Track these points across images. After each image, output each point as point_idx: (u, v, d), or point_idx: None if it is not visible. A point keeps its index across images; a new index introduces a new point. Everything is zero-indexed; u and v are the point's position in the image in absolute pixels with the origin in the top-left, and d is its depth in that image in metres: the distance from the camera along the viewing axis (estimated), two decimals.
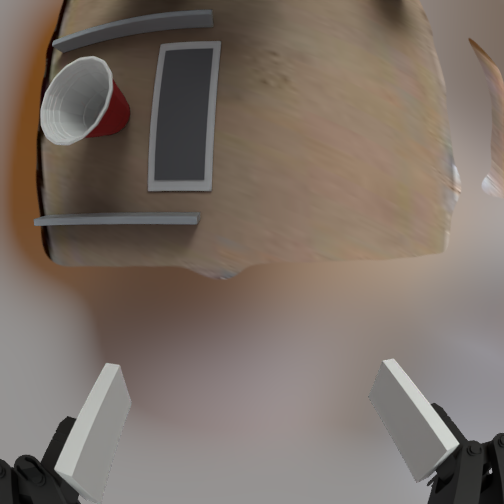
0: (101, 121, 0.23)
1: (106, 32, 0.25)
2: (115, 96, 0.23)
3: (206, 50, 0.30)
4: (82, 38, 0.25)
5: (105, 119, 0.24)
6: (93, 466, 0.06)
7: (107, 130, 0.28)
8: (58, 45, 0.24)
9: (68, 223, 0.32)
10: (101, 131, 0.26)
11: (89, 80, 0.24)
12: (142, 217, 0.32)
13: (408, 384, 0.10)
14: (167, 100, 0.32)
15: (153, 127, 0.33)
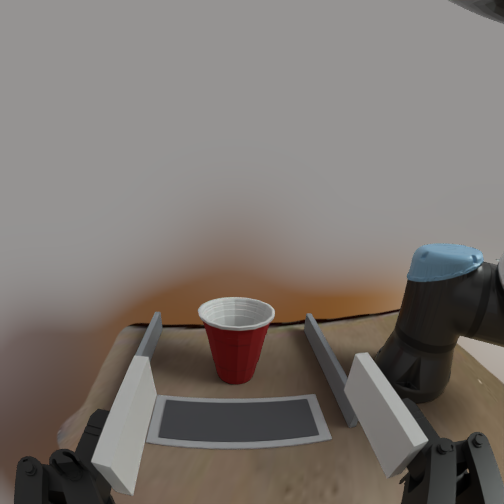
0: (213, 331, 0.34)
1: (320, 347, 0.43)
2: (237, 342, 0.34)
3: (314, 429, 0.28)
4: (313, 333, 0.48)
5: (216, 337, 0.34)
6: (127, 456, 0.07)
7: (213, 353, 0.37)
8: (307, 319, 0.52)
9: (147, 331, 0.43)
10: (211, 344, 0.36)
11: None
12: None
13: (379, 378, 0.11)
14: (248, 408, 0.32)
15: (219, 400, 0.34)
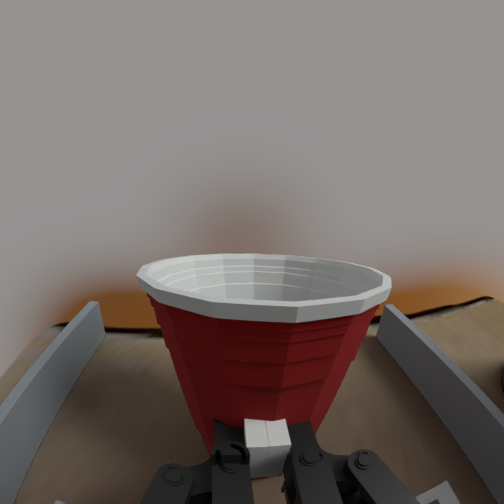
0: (180, 332, 0.08)
1: (434, 372, 0.16)
2: (279, 375, 0.08)
3: None
4: (409, 342, 0.20)
5: (193, 356, 0.08)
6: None
7: (191, 407, 0.10)
8: (387, 315, 0.25)
9: (55, 340, 0.16)
10: (181, 381, 0.10)
11: None
12: None
13: None
14: None
15: None
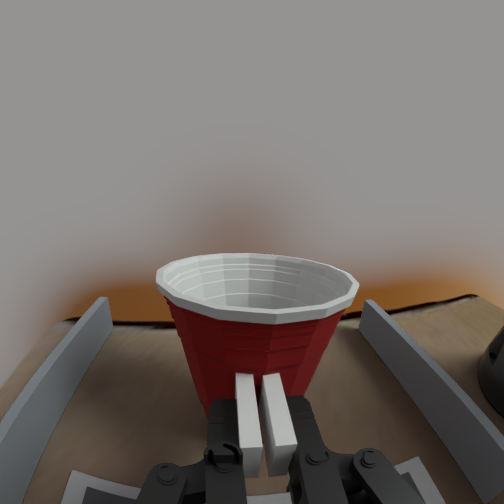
0: (192, 326, 0.11)
1: (408, 359, 0.20)
2: (265, 360, 0.11)
3: None
4: (386, 333, 0.24)
5: (201, 344, 0.11)
6: None
7: (197, 384, 0.14)
8: (367, 309, 0.28)
9: (71, 330, 0.19)
10: (189, 362, 0.13)
11: None
12: (9, 425, 0.08)
13: None
14: None
15: None
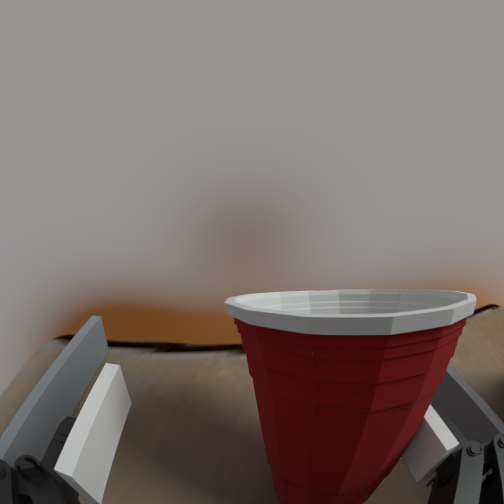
0: (323, 366, 0.07)
1: (445, 389, 0.15)
2: (419, 387, 0.06)
3: None
4: None
5: (331, 393, 0.07)
6: (93, 466, 0.06)
7: (288, 457, 0.08)
8: None
9: (57, 359, 0.15)
10: (282, 430, 0.08)
11: None
12: None
13: None
14: None
15: None
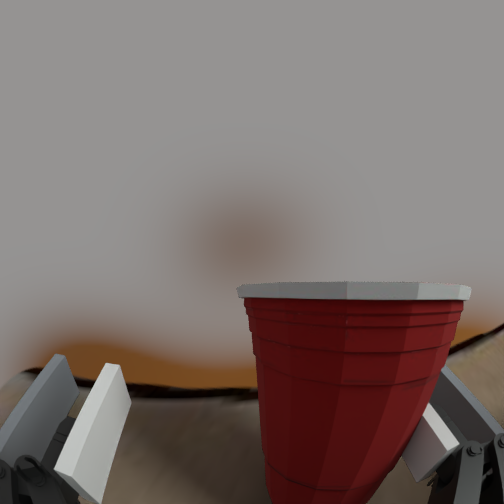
0: (355, 335, 0.07)
1: None
2: (432, 362, 0.07)
3: None
4: (455, 405, 0.13)
5: (359, 365, 0.07)
6: (93, 466, 0.06)
7: (301, 450, 0.08)
8: None
9: (12, 415, 0.09)
10: (298, 418, 0.08)
11: None
12: None
13: None
14: None
15: None
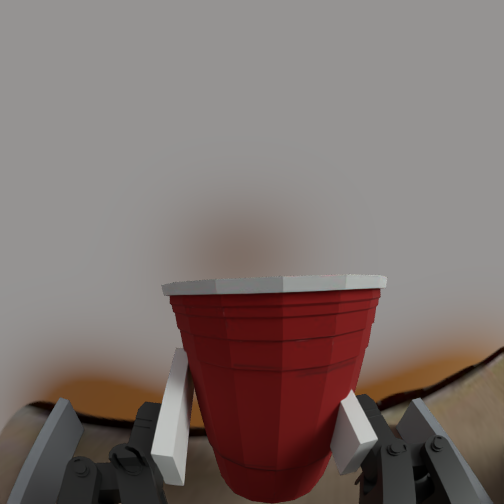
0: (234, 325, 0.09)
1: None
2: (329, 351, 0.09)
3: None
4: None
5: (244, 351, 0.09)
6: (181, 446, 0.08)
7: (222, 428, 0.09)
8: (413, 412, 0.17)
9: (27, 461, 0.08)
10: (212, 398, 0.10)
11: None
12: None
13: None
14: None
15: None
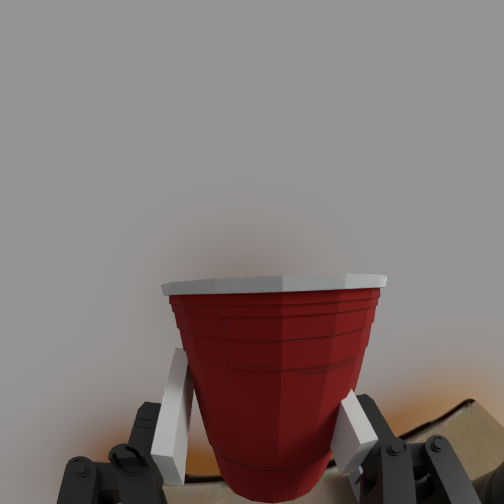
0: (233, 325, 0.09)
1: None
2: (328, 350, 0.09)
3: None
4: None
5: (244, 351, 0.09)
6: (181, 446, 0.08)
7: (222, 428, 0.09)
8: (357, 472, 0.23)
9: None
10: (212, 397, 0.10)
11: None
12: None
13: None
14: None
15: None
